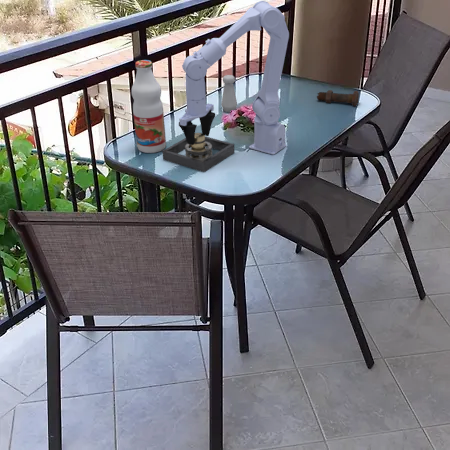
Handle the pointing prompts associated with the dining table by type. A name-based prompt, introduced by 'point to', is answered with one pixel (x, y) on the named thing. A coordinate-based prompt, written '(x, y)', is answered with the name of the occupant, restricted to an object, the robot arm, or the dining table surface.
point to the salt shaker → (228, 94)
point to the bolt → (339, 97)
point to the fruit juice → (148, 110)
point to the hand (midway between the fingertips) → (198, 139)
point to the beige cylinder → (199, 143)
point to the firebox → (198, 154)
